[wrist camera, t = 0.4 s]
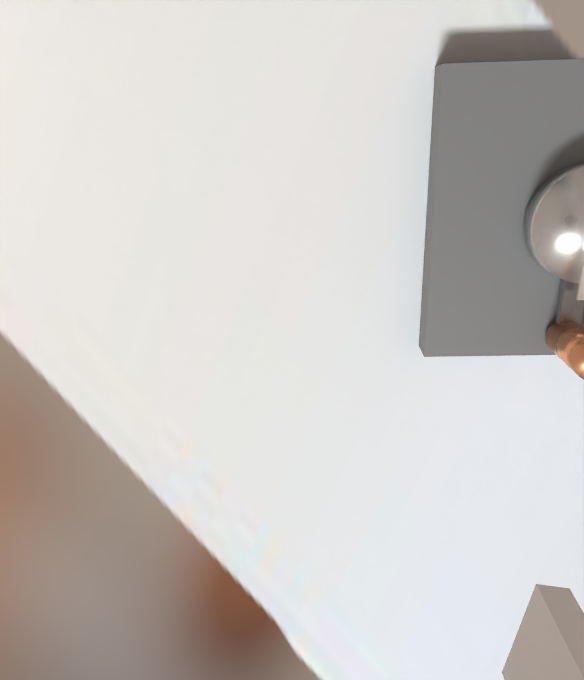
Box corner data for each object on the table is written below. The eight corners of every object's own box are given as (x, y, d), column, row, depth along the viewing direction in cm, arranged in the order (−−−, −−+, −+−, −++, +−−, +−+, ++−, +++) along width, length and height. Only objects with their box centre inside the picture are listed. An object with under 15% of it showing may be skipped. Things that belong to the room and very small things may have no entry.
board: (435, 66, 33) (443, 63, 31) (744, 56, 33) (773, 51, 31) (418, 345, 40) (424, 357, 38) (676, 341, 39) (696, 353, 37)
